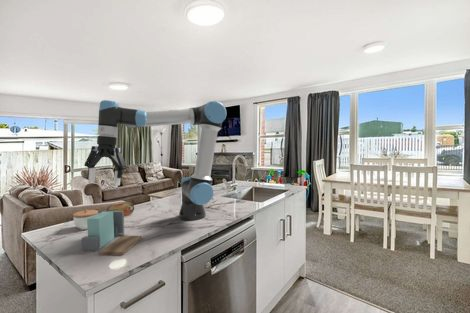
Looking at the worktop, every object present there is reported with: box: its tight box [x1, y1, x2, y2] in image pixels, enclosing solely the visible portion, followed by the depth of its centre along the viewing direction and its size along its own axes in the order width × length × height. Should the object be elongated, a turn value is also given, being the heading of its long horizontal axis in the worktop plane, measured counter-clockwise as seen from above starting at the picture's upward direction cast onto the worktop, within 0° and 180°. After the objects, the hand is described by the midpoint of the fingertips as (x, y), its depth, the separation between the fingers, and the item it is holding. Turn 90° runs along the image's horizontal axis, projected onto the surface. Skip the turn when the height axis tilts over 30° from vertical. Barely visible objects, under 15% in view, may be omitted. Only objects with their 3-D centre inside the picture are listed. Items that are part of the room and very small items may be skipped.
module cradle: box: [81, 210, 126, 252], centre depth 103 cm, size 10×17×11 cm, turn 176°
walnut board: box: [99, 234, 143, 256], centre depth 99 cm, size 9×16×1 cm, turn 176°
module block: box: [87, 211, 115, 248], centre depth 102 cm, size 5×10×12 cm, turn 176°
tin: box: [106, 201, 135, 218], centre depth 139 cm, size 15×3×8 cm, turn 139°
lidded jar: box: [72, 208, 99, 231], centre depth 121 cm, size 11×11×9 cm
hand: (104, 184), depth 106 cm, fingers open, 13 cm apart
